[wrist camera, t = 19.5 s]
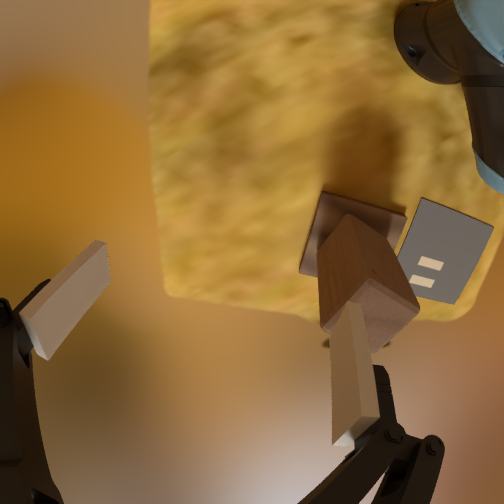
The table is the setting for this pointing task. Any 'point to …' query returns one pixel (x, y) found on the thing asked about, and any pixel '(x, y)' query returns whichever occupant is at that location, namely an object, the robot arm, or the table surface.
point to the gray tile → (442, 251)
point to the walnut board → (330, 216)
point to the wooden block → (363, 281)
